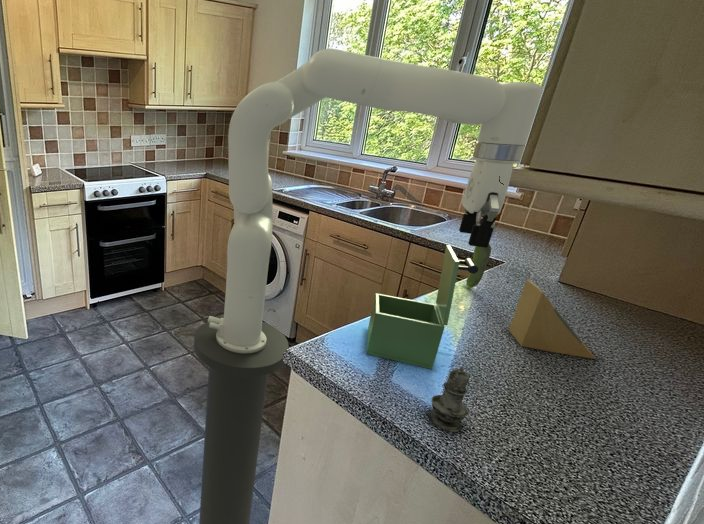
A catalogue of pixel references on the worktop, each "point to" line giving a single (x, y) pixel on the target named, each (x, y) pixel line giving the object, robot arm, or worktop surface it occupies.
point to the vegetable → (479, 265)
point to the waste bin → (404, 330)
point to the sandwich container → (544, 325)
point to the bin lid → (450, 281)
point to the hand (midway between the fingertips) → (472, 239)
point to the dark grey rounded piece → (450, 402)
